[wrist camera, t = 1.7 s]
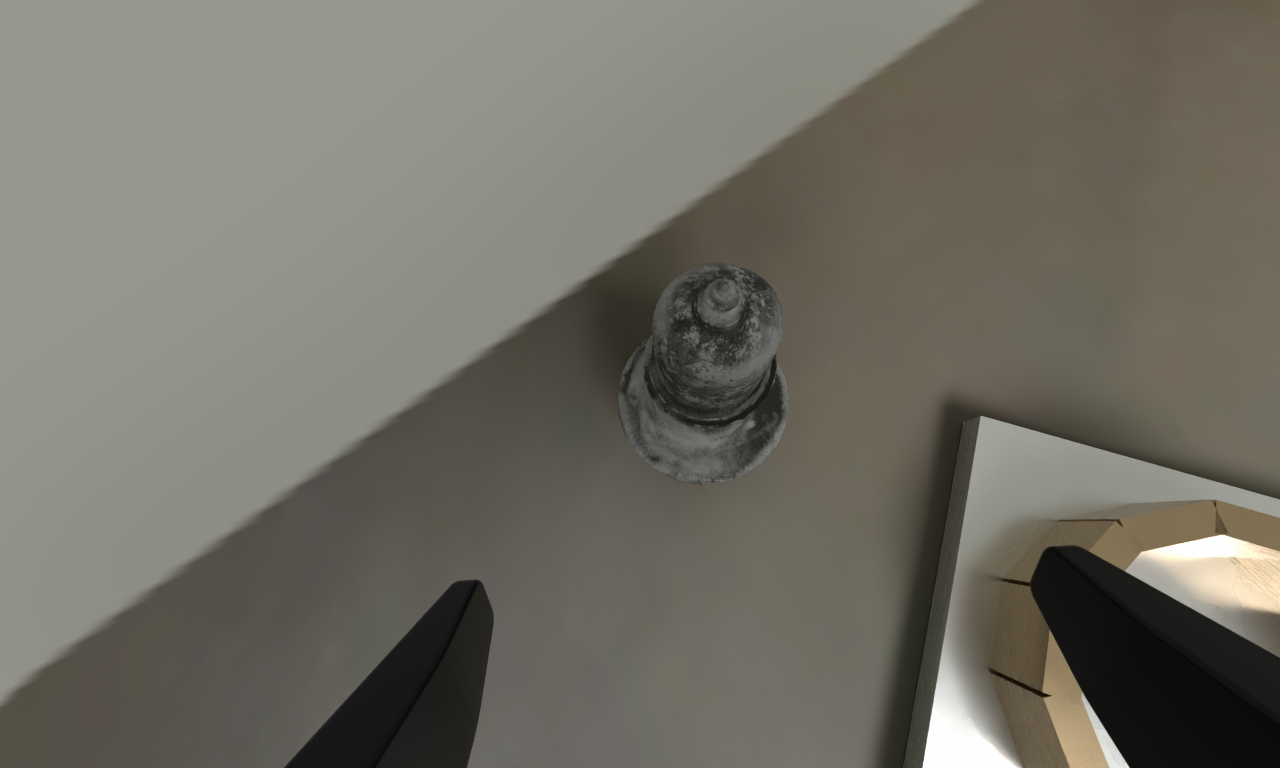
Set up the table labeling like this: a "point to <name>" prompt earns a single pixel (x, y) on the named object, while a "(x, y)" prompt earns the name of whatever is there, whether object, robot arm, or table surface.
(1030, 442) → the socket plate
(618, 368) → the table surface
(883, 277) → the table surface
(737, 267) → the grey stone tall piece
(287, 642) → the table surface
